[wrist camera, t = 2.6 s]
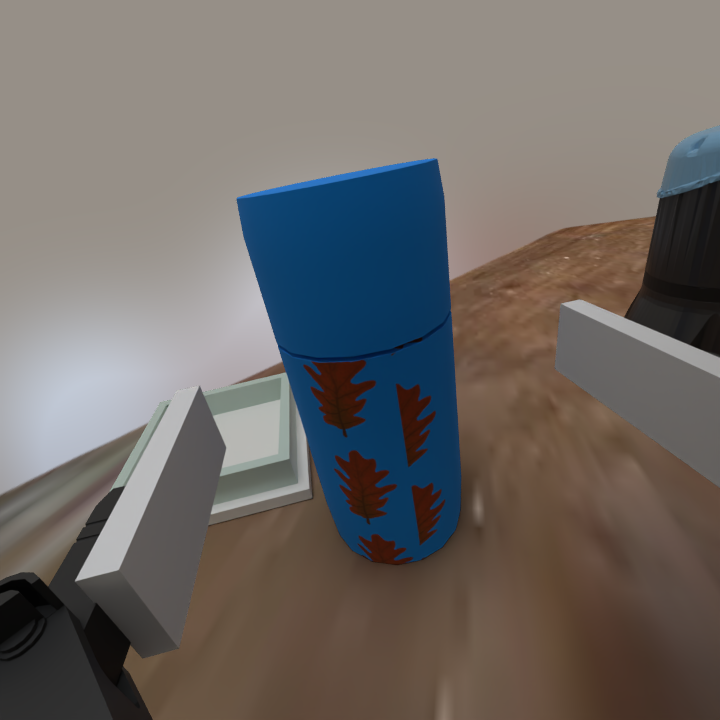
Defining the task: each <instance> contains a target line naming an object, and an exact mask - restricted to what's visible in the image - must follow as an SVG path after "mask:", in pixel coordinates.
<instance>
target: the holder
mask: <svg viewBox="0 0 720 720" xmlns="http://www.w3.org/2000/svg"><path fill="white" fill-rule="evenodd" d="M203 395H204V397H205V399H206V402H207V404H208V406H209V408H210V411H211V413H212V415H213V418H214V420H215V422H216V425H217V427H218V429H219V431H220V434H221V436H222V438H223V441H224V443H225V445H226V452H225V456H224V461H223V465H222V469H221V473H220V477H219V482H218V486H217V490H216V494H215V498H214V503H213V507H212V511H211V515H210V520H209V524H208V525H212V524H216V523H220V522H223V521H227V520H231V519H235V518H239V517H243V516H246V515H250V514H254V513H258V512H262V511H265V510H269V509H273V508H277V507H281V506H284V505H288V504H292V503H296V502H300V501H304V500H307V499H311V498H312V484H311V470H310V456H309V444H308V441H307V437H306V434H305V431H304V428H303V425H302V421H301V418H300V415H299V412H298V409H297V406H296V402H295V399H294V396H293V393H292V390H291V386H290V383H289V380H288V377H287V374H286V373H282V374H278V375H274V376H269V377H265V378H261V379H257V380H252V381H248V382H244V383H240V384H236V385H231V386H227V387H223V388H219V389H214V390H210V391H206V392H203ZM171 401H172V400H168V401H164V402H160V404H159V406H158V407H157V409H156V411H155V413H154V414H153V416H152V418H151V420H150V421H149V423H148V425H147V427H146V428H145V430H144V432H143V434H142V436H141V437H140V439H139V441H138V443H137V444H136V446H135V448H134V450H133V451H132V453H131V455H130V457H129V458H128V460H127V462H126V464H125V466H124V467H123V469H122V471H121V473H120V474H119V476H118V478H117V480H116V481H115V483H114V485H113V487H112V488H111V490H112V489H113V488H118V487H122V486H126V485H127V483H128V481H129V479H130V477H131V475H132V474H133V472H134V470H135V468H136V466H137V464H138V462H139V460H140V459H141V457H142V455H143V453H144V451H145V449H146V447H147V445H148V444H149V442H150V440H151V438H152V436H153V434H154V432H155V431H156V429H157V427H158V425H159V423H160V421H161V419H162V417H163V416H164V414H165V412H166V410H167V408H168V406H169V404H170V402H171ZM111 490H110V491H111Z"/></svg>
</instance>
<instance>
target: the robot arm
mask: <svg viewBox="0 0 720 720" xmlns="http://www.w3.org/2000/svg"><path fill="white" fill-rule="evenodd" d="M657 197H658V198H660V200H659V205H658V209H657V215H656V219H655V224H654V229H653V234H652V239H651V243H650V248H649V253H648V258H647V263H646V268H645V273H644V278H643V282H642V287H641V289H640V291H639V293H638V294H637V296H636V297H635V299H634V301H633V302H632V304H631V306H630V307H629V309H628V311H627V313H626V315H625V317H624V318H623V317H621V316H619V315H616V314H614V313H611V312H609V311H607V310H604V309H602V308H600V307H597V306H595V305H592V304H590V303H588V302H585V301H583V300H575V301H571V302H567V303H562V304H561V306H560V317H559V328H558V339H557V349H556V360H555V369H556V370H557V371H558V372H560V373H561V374H563V375H564V376H565V377H567V378H568V379H569V380H571V381H572V382H574V383H575V384H576V385H578V386H579V387H581V388H582V389H583V390H585V391H586V392H588V393H589V394H590V395H592V396H593V397H594V398H596V399H597V400H599V401H600V402H601V403H603V404H604V405H606V406H607V407H608V408H610V409H611V410H612V411H614V412H615V413H617V414H618V415H619V416H621V417H622V418H624V419H625V420H626V421H628V422H629V423H631V424H632V425H633V426H635V427H636V428H637V429H639V430H640V431H642V432H643V433H644V434H646V435H647V436H649V437H650V438H651V439H653V440H654V441H655V442H657V443H658V444H660V445H661V446H662V447H664V448H665V449H667V450H668V451H669V452H671V453H672V454H674V455H675V456H676V457H678V458H679V459H680V460H682V461H683V462H685V463H686V464H687V465H689V466H690V467H692V468H693V469H694V470H696V471H697V472H698V473H700V474H701V475H703V476H704V477H705V478H707V479H708V480H710V481H711V482H712V483H714V484H715V485H717V486H718V487H719V488H720V125H719V126H716V127H713V128H710V129H707V130H704V131H701V132H698V133H696V134H693V135H691V136H689V137H687V138H685V139H684V140H683V141H681V142H680V143H679V144H678V145H677V146H676V147H675V148H674V149H673V151H672V153H671V154H670V156H669V159H668V162H667V166H666V171H665V174H664V178H663V182H662V186H661V188H660V189H659V190H658V192H657ZM225 452H226V445H225V443H224V441H223V438H222V436H221V434H220V431H219V429H218V427H217V425H216V422H215V420H214V418H213V415H212V413H211V411H210V408H209V406H208V404H207V402H206V399H205V397H204V395H203V392H202V390H201V388H200V386H196V387H192V388H187V389H182V390H178V391H176V393H175V395H174V397H173V399H172V401H171V402H170V404H169V406H168V408H167V410H166V412H165V414H164V416H163V417H162V419H161V421H160V423H159V425H158V427H157V429H156V431H155V432H154V434H153V436H152V438H151V440H150V442H149V444H148V445H147V447H146V449H145V451H144V453H143V455H142V457H141V459H140V460H139V462H138V464H137V466H136V468H135V470H134V472H133V474H132V475H131V477H130V479H129V481H128V483H127V485H126V486H122V487H118V488H113V489H112V490H111V491H110V492H109V493H108V494H107V495H106V496H105V497H104V498H103V499H102V500H101V501H100V502H99V503H98V505H97V506H96V507H95V509H94V510H93V512H92V514H91V515H90V517H89V519H88V520H87V522H86V527H84V528H83V529H82V531H81V532H80V534H79V536H78V537H77V539H76V540H77V542H76V543H74V544H73V546H72V547H71V549H70V551H69V552H68V554H67V556H66V558H65V559H64V561H63V563H62V564H61V566H60V568H59V569H58V571H57V573H56V574H55V576H54V578H53V579H52V581H51V583H50V585H49V586H47V585H46V584H45V583H44V582H43V581H42V580H41V579H40V578H39V577H38V576H37V575H36V574H34V573H25V572H22V573H19V574H16V575H13V576H10V577H7V578H4V579H3V580H1V581H0V720H153V719H152V717H151V715H150V713H149V711H148V709H147V707H146V705H145V703H144V701H143V699H142V697H141V695H140V693H139V691H138V689H137V687H136V685H135V683H134V681H133V679H132V677H131V675H130V673H129V672H128V671H127V670H126V669H125V668H124V667H123V664H124V661H125V658H126V655H127V652H128V650H129V647H130V645H131V646H132V647H133V648H134V649H135V650H136V652H137V653H138V654H139V655H140V656H141V657H142V658H146V657H150V656H154V655H157V654H161V653H164V652H168V651H172V650H175V649H179V646H180V642H181V638H182V634H183V629H184V625H185V621H186V617H187V612H188V608H189V604H190V600H191V596H192V591H193V587H194V583H195V579H196V574H197V570H198V566H199V562H200V558H201V553H202V549H203V545H204V541H205V536H206V532H207V528H208V524H209V520H210V515H211V511H212V507H213V503H214V498H215V494H216V490H217V486H218V482H219V477H220V473H221V469H222V465H223V461H224V456H225Z"/></svg>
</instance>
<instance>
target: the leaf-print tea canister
mask: <svg viewBox="0 0 720 720" xmlns="http://www.w3.org/2000/svg"><path fill="white" fill-rule="evenodd" d="M237 204H238V210H239V215H240V220H241V225H242V231H243V236H244V240H245V243H246V246H247V249H248V252H249V256H250V259H251V261H252V265H253V268H254V271H255V275H256V278H257V281H258V284H259V287H260V291H261V293H262V297H263V300H264V303H265V307H266V310H267V313H268V316H269V319H270V323H271V326H272V329H273V332H274V335H275V339H276V342H277V344H278V348H279V351H280V354H281V358H282V361H283V364H284V367H285V370H286V374H287V377H288V380H289V383H290V386H291V390H292V393H293V396H294V399H295V402H296V406H297V409H298V412H299V415H300V418H301V421H302V425H303V428H304V431H305V434H306V437H307V441H308V444H309V447H310V450H311V453H312V457H313V460H314V463H315V466H316V469H317V473H318V476H319V479H320V482H321V485H322V488H323V492H324V495H325V498H326V501H327V504H328V507H329V509H330V512H331V514H332V517H333V519H334V521H335V524H336V526H337V529H338V531H339V534H340V536H341V537H342V538H343V539H344V541H345V542H346V543H347V544H348V546H349V547H350V548H351V549H352V551H354V552H356V553H358V554H360V555H362V556H363V557H365V558H367V559H369V560H371V561H373V562H380V563H387V564H394V565H399V564H403V563H408V562H413V561H418V560H422V559H424V558H425V557H427V556H429V555H430V554H432V553H434V552H435V551H437V550H439V549H440V548H442V547H443V546H444V544H445V543H446V542H447V540H448V539H449V538H450V536H451V535H452V534H453V533H454V531H455V530H456V527H457V522H458V518H459V514H460V508H461V465H460V449H459V432H458V416H457V399H456V383H455V366H454V350H453V333H452V317H451V311H450V309H451V300H450V284H449V267H448V251H447V235H446V218H445V202H444V193H443V187H442V182H441V176H440V171H439V165H438V160H437V159H434V158H433V159H426V160H418V161H412V162H406V163H400V164H394V165H389V166H383V167H378V168H372V169H367V170H362V171H357V172H351V173H346V174H341V175H336V176H331V177H326V178H321V179H316V180H311V181H307V182H301V183H297V184H292V185H288V186H283V187H278V188H274V189H269V190H265V191H261V192H257V193H252V194H248V195H245V196H241V197H238V198H237Z"/></svg>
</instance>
